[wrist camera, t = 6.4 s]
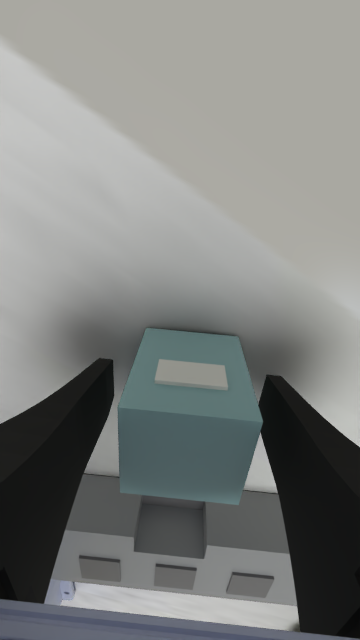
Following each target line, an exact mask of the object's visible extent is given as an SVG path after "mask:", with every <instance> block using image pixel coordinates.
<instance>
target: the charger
mask: <svg viewBox="0 0 360 640" xmlns="http://www.w3.org/2000/svg"><path fill="white" fill-rule="evenodd" d="M262 424H263V420H262V416H261V413H260V409H259V406H258V403H257V399H256V396H255V392H254V389H253V385H252V382H251V378H250V375H249V372H248V368H247V365H246V361H245V358H244V354H243V351H242V347H241V344H240V341H239V337H238V336H227V335H217V334H206V333H196V332H186V331H175V330H165V329H155V328H146V330H145V333H144V336H143V338H142V341H141V344H140V347H139V350H138V352H137V355H136V358H135V361H134V363H133V366H132V369H131V372H130V374H129V377H128V380H127V383H126V386H125V388H124V391H123V394H122V397H121V399H120V402H119V405H118V438H119V475H120V493H128V494H138V495H147V496H157V497H166V498H176V499H186V500H195V501H205V502H214V503H224V504H233V505H239V502H240V499H241V495H242V492H243V488H244V485H245V482H246V478H247V475H248V471H249V468H250V465H251V461H252V458H253V454H254V451H255V448H256V444H257V441H258V438H259V434H260V431H261V427H262Z"/></svg>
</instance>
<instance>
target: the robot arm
mask: <svg viewBox="0 0 360 640" xmlns="http://www.w3.org/2000/svg"><path fill="white" fill-rule="evenodd" d="M113 398H114V376H113V360H112V359H101V358H99V359H98V360H96V361H95V362H94V363H93V364H91V365H90V366H89V367H88V368H86V369H85V370H84V371H83V372H81V373H80V374H79V375H78V376H76V377H75V378H74V379H72V380H71V381H70V382H68V383H67V384H66V385H65V386H63V387H62V388H60V389H59V390H57V391H56V392H55V393H53V394H52V395H50V396H49V397H47V398H46V399H44V400H43V401H41V402H40V403H38V404H36V405H35V406H33V407H31V408H30V409H28V410H26V411H24V412H23V413H21V414H19V415H17V416H15V417H13V418H11V419H9V420H7V421H5V422H3V423H1V424H0V640H360V447H359V446H357V445H356V444H355V443H353V442H352V441H351V440H349V439H348V438H347V437H346V436H344V435H343V434H342V433H341V432H339V431H338V430H337V429H336V428H335V427H334V426H332V425H331V424H330V423H329V422H328V421H327V420H326V419H324V418H323V417H322V416H321V415H320V414H319V413H318V412H317V411H316V410H315V409H314V408H313V407H312V406H311V405H310V404H308V403H307V402H306V401H305V400H304V399H303V398H302V397H301V396H300V395H299V394H298V393H297V392H296V391H295V390H294V389H293V388H292V387H291V386H290V385H289V384H288V383H287V382H286V381H285V380H284V379H283V378H282V377H281V376H274V375H267V376H266V379H265V383H264V386H263V390H262V394H261V397H260V401H259V405H258V406H259V409H260V413H261V416H262V420H263V424H262V427H261V431H260V432H261V435H262V439H263V442H264V446H265V449H266V453H267V456H268V459H269V463H270V466H271V469H272V473H273V476H274V480H275V483H276V487H277V491H278V495H279V499H280V504H281V509H282V515H283V520H284V525H285V531H286V536H287V542H288V548H289V554H290V560H291V566H292V573H293V579H294V586H295V593H296V600H297V608H298V615H299V623H300V631H301V632H293V631H284V630H275V629H266V628H257V627H248V626H239V625H230V624H221V623H212V622H203V621H194V620H185V619H176V618H167V617H158V616H149V615H140V614H130V613H121V612H112V611H103V610H94V609H85V608H76V607H67V606H60V605H61V602H62V600H72V599H73V598H74V595H75V592H74V587H73V582H72V581H63V580H53V579H51V577H52V573H53V569H54V566H55V562H56V559H57V556H58V552H59V549H60V545H61V542H62V539H63V535H64V532H65V529H66V525H67V522H68V519H69V516H70V513H71V510H72V506H73V503H74V500H75V497H76V494H77V491H78V488H79V485H80V482H81V479H82V476H83V473H84V471H85V468H86V466H87V463H88V461H89V459H90V457H91V454H92V452H93V450H94V447H95V445H96V443H97V441H98V438H99V436H100V434H101V432H102V429H103V427H104V425H105V422H106V420H107V418H108V415H109V412H110V408H111V405H112V402H113Z"/></svg>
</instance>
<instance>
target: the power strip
mask: <svg viewBox="0 0 360 640" xmlns="http://www.w3.org/2000/svg"><path fill="white" fill-rule="evenodd" d="M51 579H53V580H63V581H72V582H81V583H90V584H99V585H108V586H118V587H127V588H136V589H145V590H154V591H163V592H172V593H182V594H191V595H200V596H209V597H218V598H227V599H236V600H246V601H255V602H264V603H273V604H282V605H291V606H297V600H296V593H295V586H294V579H293V573H292V566H291V560H290V554H289V548H288V542H287V536H286V531H285V525H284V520H283V515H282V509H281V504H280V499H279V495H278V494H271V493H261V492H251V491H243V492H242V495H241V499H240V502H239V505H233V504H224V503H214V502H205V501H195V500H186V499H176V498H166V497H157V496H147V495H138V494H128V493H120V478H117V477H107V476H98V475H88V474H83V476H82V479H81V482H80V485H79V488H78V491H77V494H76V497H75V500H74V503H73V506H72V510H71V513H70V516H69V519H68V522H67V525H66V529H65V532H64V535H63V539H62V542H61V545H60V549H59V552H58V556H57V559H56V562H55V566H54V569H53V573H52V577H51Z"/></svg>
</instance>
